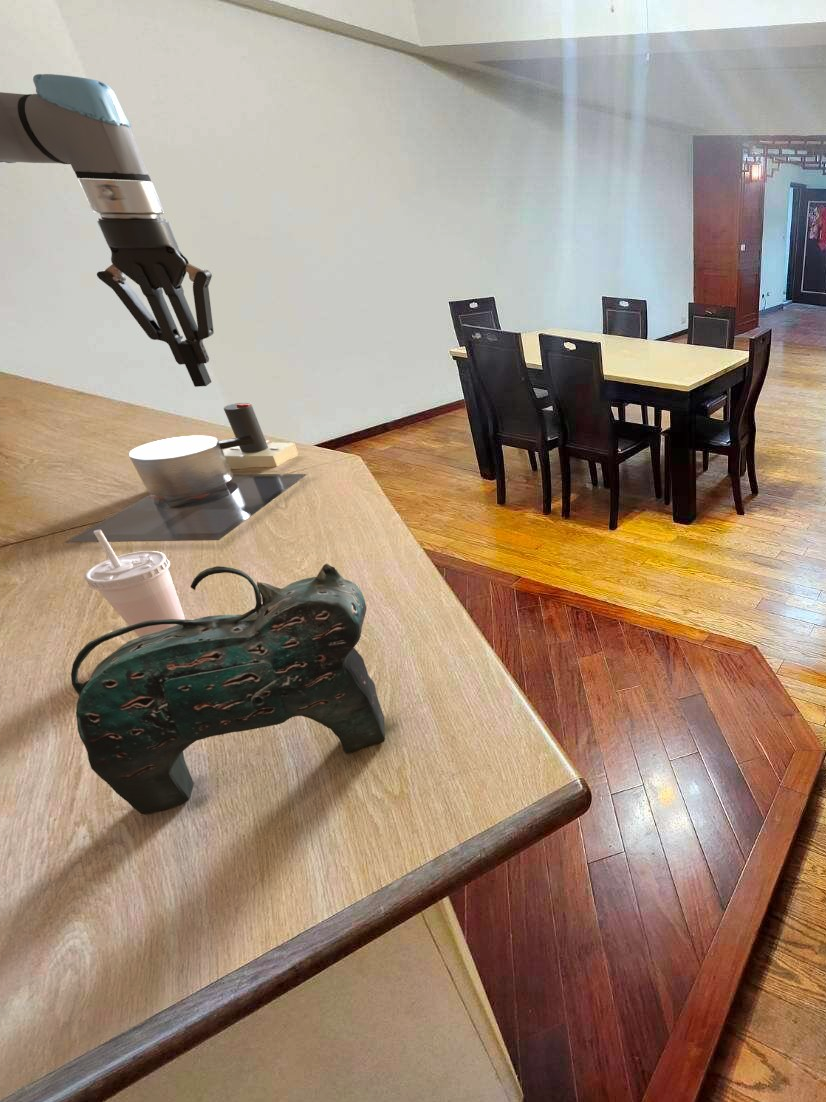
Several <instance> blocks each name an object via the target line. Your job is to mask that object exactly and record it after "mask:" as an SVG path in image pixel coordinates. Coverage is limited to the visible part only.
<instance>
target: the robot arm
mask: <svg viewBox="0 0 826 1102" xmlns="http://www.w3.org/2000/svg"><path fill="white" fill-rule="evenodd" d="M32 82H33V84H34V87H35V93H28V94H25V93H12V92H3V91H0V163H6V164H16V163H28V164H29V163H30V164H62V165H70V166H71V168H72V170H73V172H74V174H75V175H76V178H77V180H78V183H79V185H80V187H81V189H82V191H83V193H84V195H85V198H86V200H87V202H88V205H89V206H90V208H91V211H92V212H94V213H95V214H99V215H100V217H97V220H96V222H97V224H98V227H99V229H100V231H101V233H102V236H103V238H104V240H105V242H106V244H107V246H108V248H109V249H110V252H111V253H110V254H111V255H110V256H111V257H110V262H111V264H110V265H109V266H107V268H106V269H104V270H99V271H97V273H96V277H97V278H98V279H99V280H100V281H101V282H103V283H104V284H105V285H107V286H108V288H110V289H111V290H113V292H114V293H115V294H116V296H117V297H118V298H119V300H120V301H121V302H122V304H123V305H124V306H125V307H126V309H127V311H128V312H129V313H130V315H132V317H133V319H135V321H136V322H137V324H138V325H139V326H140V327H141V329H142V331H144V333H145V334H146V335H147V337H148V338H149V339H150V340H153V341H161V342H165V343H166V344H167V345H168V346H169V349H170V351H171V353H172V356H173V358H174V360H175V362H176V363H177V364H178V365H179V366H180V365H184V366H185V368H186V371H187V372H188V375H189V376H190V379H191V381H192V384H193V386H194V387H195V388H198V387H207V386H209V385H210V384H211V383H212V378H211V377H210V374H209V372H208V369H207V367H206V365H205V364H207V363H208V362H210V357H209V355H208V352H207V349H206V347H205V344H204V342H203V340H204V339H208V338H210V337H211V336H213V335H214V323H213V316H212V315H213V314H212V307H211V298H210V290H209V285H210V283H211V281H212V277H213V273H212V272H211V271H209V270H208V269H201V268H199V267H197V266H195V265H193V264H190V263H189V260H188V258H187V257H185V255H184V254H183V253H182V251H180V248H179V244H178V242H177V239H176V237H175V235H174V233H173V230H172V227H171V225H170V222H169V221H167V220H166V219H165V218H162V216H161V215H164V214H165V210H164V207H163V205H162V203H161V200H160V198H159V195H158V193H157V191H156V188H155V186H154V184H153V181H152V180H151V176H150V175H149V172H148V170H147V166H146V165H145V162H144V160H143V157H142V155H141V152H140V149H139V147H138V144H137V142H136V139H135V136H134V133H133V130H132V125H131V122H130V121H129V120H128V118H127V117H126V114H125V112H124V110H123V108H122V106H121V103H120V101H119V99H118V97H117V95H116V93H115V91H114V90H113V89H112V88H111V87H110V86H109V85H108V84H107V83H105V82H102V81H100V80H96V79H92V78H87V77H82V76H81V77H79V76H73V75H65V74H64V75H63V74H54V73H37V74H34V75H33V77H32ZM186 274H188V277H189V278H188V279H189V280H190V281H191V282H192V293H193V301H194V308H195V309H194V310H195V316H196V320H195V318H194V315H193V313H192V310H191V308H190V305H189V304H188V301H187V298H186V296H185V291H184V288H183V285H182V283H183V281H184V279H185V276H186ZM126 277H128V279H130V280H132V281H133V282H134V283H135V284H136V285H138V286H139V288H140V291H141V293H142V294H143V296H144V297H145V298H146V300H147V302H148V304H149V307H150V309H151V311H152V313H153V315H152V313H150V310H149V309H148V308H147V307H146V305H145V304H144V303H143V302H142V300H141V299H140V298H139V296H138V294H137V293H136V292H135V290H134V289H133V288H132V287H131V286H130V284H129V283H128V282H127V281H126V279H127V278H126ZM164 294H165V295H166V297H167V298H168V300H169V303H170V305H171V307H172V310H173V312H174V314H175V316H176V319H177V321H178V323H179V326H180V328H181V331H182V333H183V335H184V337H183V335H181V334H180V331H179V329H178V327H177V325H176V322H175V320H174V318H173V315H172V313H171V310H170V309H169V305H168V303H167V301H166V299H165V296H164ZM153 316H154V317H153ZM183 338H185V339H184V340H182V339H183Z"/></svg>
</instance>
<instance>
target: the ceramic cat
mask: <svg viewBox="0 0 826 1102" xmlns="http://www.w3.org/2000/svg"><path fill="white" fill-rule="evenodd" d="M225 573H226V574H232V575H233V574H234V575H237V576H239V577H243V578H244V579H245V580H247V581H248V583H249V584H250V585H251V586H252V588H253V592H254V596H255V597H254V598H255V606H254V607H253V608H252V609H250V610H249V611H246V612H245V613H243V614H217V615H209V616H203V617H202V616H201V617H199V618H194V619H185V620H182V619H167V620H150V621H145V622H141V623H138V624H135V625H131V626H129V625H128V626H124V627H120V628H118V629H115V630H112V631H110V632H107V633H105V634H102V635H100V636H99V637H97V638H94V639H93V640H91V641H88V642H87V643H86V644H85V645H84V646H83V648H81V650H79V651H78V653H77V655H76V657H75V659H74V661H73V662H72V666H71V672H70V678H71V686H72V687H73V689H74V691H75V693H76V694H77V695H78V699H77V702H76V708H75V710H76V711H75V716H76V724H77V725H76V726H77V732H78V735H79V738H80V740H81V742H82V744H83V745H84V748H85V750H86V754H87V760H88V762H89V766H90V768H91V770H92V771H93V772H94V773H95V774H96V775H97V776H98V777H99V778H100V779H101V780H102V781H104V782H105V783H106V784H107V785H109V787H110V788H111V789H112V790H113V791H114V792H115V793H116V794H117V795H118V796H119V797H121V798H122V799H123V800H124V801H125V802H127V803H128V804H129V806H131V807H132V808H133V809H134V810H136V811H137V812H138V813H140V814H141V815H150V814H153V813H159V812H162V811H163V812H164V811H166V810H169V809H172V808H176V807H178V806H181V805H183V804H185V803H187V802H189V801H190V799H191V796H192V791H193V788H194V785H195V782H194V780H193V778H192V774H191V772H190V770H189V768H188V765H187V762H186V760H185V755H184V751H185V750H186V749H188V747H189V746H191V745H193V744H194V743H195V742H197V741H201V740H204V739H208V738H211V737H212V738H213V737H215V736H217V737H218V736H223V735H226V734H232V733H240V732H246V731H251V730H252V731H253V730H256V729H263V728H266V727H272V726H277V725H281V724H283V723H286V721H288V720H290V719H292V718H295V717H305V718H307V719H310V720H312V721H314V722H316V723H319V724H321V725H322V726H324V727H326V728H328V729H329V730H331V731H332V733H333V734H334V735H335V736H336V737H337V738H338V740H339V742H340V744H341V748H342V749H343V752H344V753H345V754H346V755H349V754H351V753H354V752H356V751H358V750H361V749H363V748H366V747H369V746H373V745H377V744H381V743H384V742H385V740H386V726H385V724H386V721H385V716H384V712H383V710H382V707H381V704H380V700H379V698H378V697H379V696H378V694H377V689H376V684H375V682H374V680H373V679H372V678H371V677H370V675H369V672H368V669H367V666H366V664H365V660H364V658H363V657H362V655H361V654H360V653H359V652H358V649H356V648H355V647H356V646H357V644H358V643H359V641H360V639H361V636H362V630H363V624H364V620H365V617H366V614H367V603H366V600H365V597H364V594H363V592H362V590H361V589H360V587H359V586H358V585H357V584H356V583H354V582H353V581H351V580H349V579H345V578H344V577H343V575H342V574H340V573H339V571H338V569H336V567H334V566H332V565H330V564H329V563H325V564H324V565H322V567H321V568H320V570H319V572H318V574H317V575H316V576H312V577H308V578H302V579H300V580H297V581H294V582H291V583H289V584H287V585H285V586H284V587H282V588H280V587H277V586H274V585H271V584H269V583H265V582H259V581H257V582H255V581H254V579H252V577H251V576H250V575H249V574H248V573H246V572H245V571H243V570H241V569H238V568H234V567H228V566H219V565H217V566H213V567H209V568H206V569H204V570H203V571H200V572H199V573H198V574H197V575H196V576H195V577H194V579H193V580H192V582H191V584H190V589H192V590H194V591H196V588H197V586H198V585H199V583H200V582H201V581H203V580H204V579H205V578H207V577H210V576H213V575H215V574H225ZM161 624H178V625H176V626H173V627H170V628H168V629H165V630H162V631H160V632H156V633H153V634H149V635H145V636H142V637H139V636H138V637H137V638H134V639H131V640H128V641H127V642H126V643H124V644H122V645H121V646H120V647H119V648H117V649H116V650H115V651H113V652H112V653H111V654H109V655H108V656H107V657H105V658H104V659H102V660H101V661H100V662H99V663H98V664H97V665H96V667H95V668H94V669H93V671H92V673H91V675H90V676H89V678H88V680H86V681H84V682H80V681H79V677H78V675H79V669H80V667H81V666H82V665H81V664H82V663H83V662H84V661H85V660H86V658H87V657H88V656H89V655H90V654H91V652H92V651H93V650H95V648H97V647H98V646H99V645H101V644H103V643H105V642H106V641H110V640H112V639H114V638H117V637H119V636H123V635H125V634H128V633H130V632H134V631H133V630H136V629H140V628H143V627H147V626H153V625H161Z"/></svg>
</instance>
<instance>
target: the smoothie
mask: <svg viewBox="0 0 826 1102" xmlns="http://www.w3.org/2000/svg"><path fill="white" fill-rule="evenodd" d="M94 534H95V535H96V537H97V539H98V540H99V542H98V543H99V544H100V546H101V548H102V549H103V550H104V552H105V554H106V555H107V557H108V558H107V559H106V560H103V561H101V562H99V563H97V564H96V565H94V566H92V567H90V569H88V570H87V571H86V573H85V574H84V579H85V581H86V582H87V585H88V587H89V588H91V589H92V590H96V591H98V592H99V593H100V595H101V596H102V597H103V598H104V600H106V601H107V603H108V604H110V606H111V607H112V608H113V609H114V611H115V612H116V613H117V614H118V615H119V616H120V617H121V618H122V619H123V620H124V621H125V623H126V624H127V625H128V626H131V625H135V624H138V623H141V622H145V621H150V620H167V619H182V620H186V617H185V614H184V611H183V607H182V605H181V602H180V599H179V596H178V594H177V590H176V588H175V585H174V582H173V579H172V576H171V573H170V570H169V568H170V566H171V562H170V560H169V559H168V558H167V556H166V554H165V553H164V552H161V551H156V550H142V551H135V552H129V553H124V554H121V555H116V553H115V551H114V550H113V548H112V546H111V544H110V542H108V541H107V539H106V538H105V536H104V534H103V533H102V531H101V530H95V531H94ZM176 625H178V624H161V625H153V626H147V627H143V628H140V629H136V630H133V631H132V632H134V633H135V634H136V635H137V637H138V638H139V637H142V636H145V635H149V634H153V633H156V632H160V631H162V630H165V629H168V628H170V627H173V626H176Z"/></svg>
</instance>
